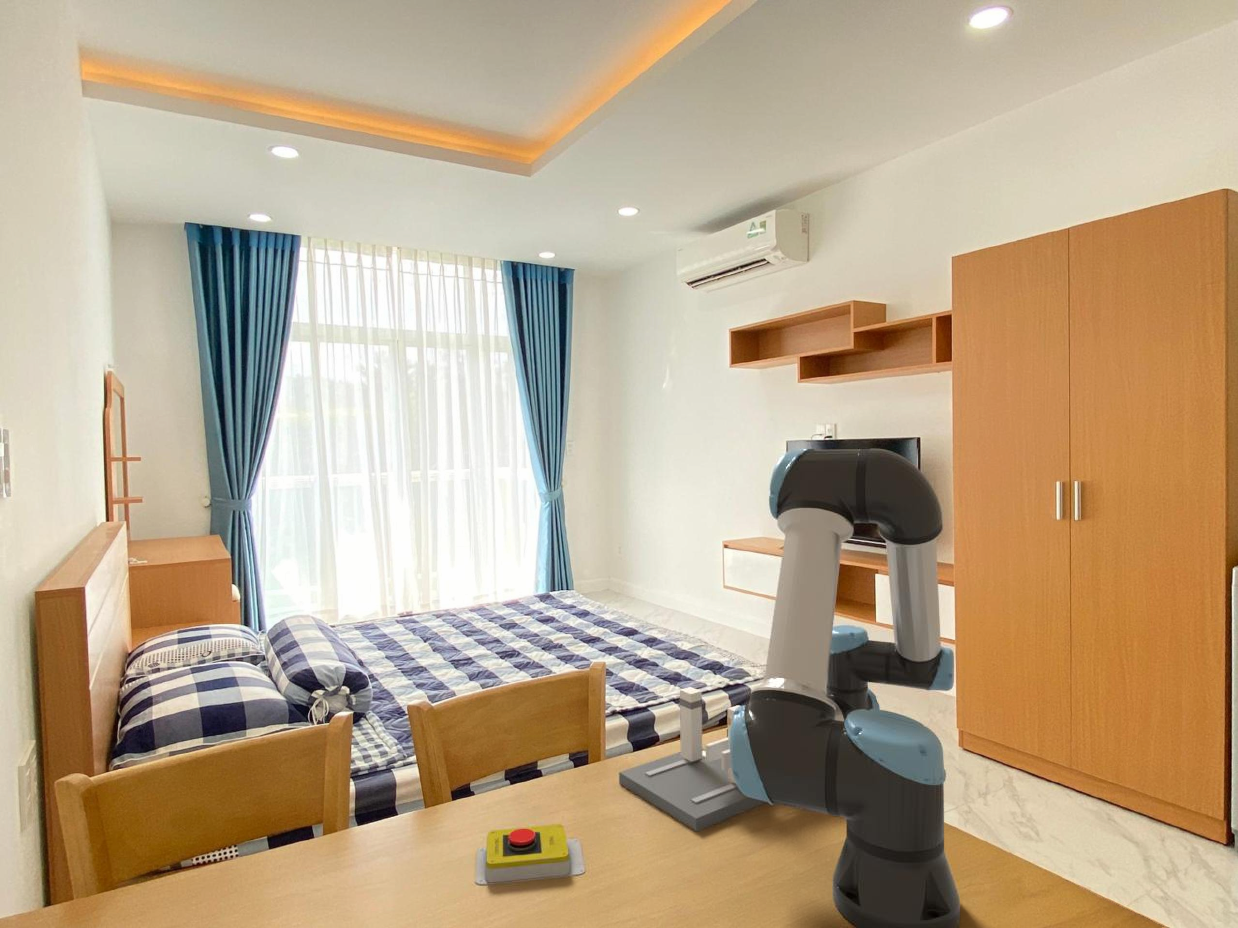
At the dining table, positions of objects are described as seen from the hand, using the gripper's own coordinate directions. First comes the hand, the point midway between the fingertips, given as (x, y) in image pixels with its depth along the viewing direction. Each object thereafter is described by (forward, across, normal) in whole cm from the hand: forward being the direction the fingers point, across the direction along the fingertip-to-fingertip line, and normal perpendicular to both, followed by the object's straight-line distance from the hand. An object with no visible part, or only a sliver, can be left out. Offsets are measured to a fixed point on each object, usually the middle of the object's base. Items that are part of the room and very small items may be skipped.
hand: (715, 757), depth 122 cm
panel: (-1, +6, -8) cm, 10 cm away
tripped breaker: (-5, 0, -5) cm, 8 cm away
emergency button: (+32, +4, -9) cm, 33 cm away
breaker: (-5, +12, -5) cm, 14 cm away
